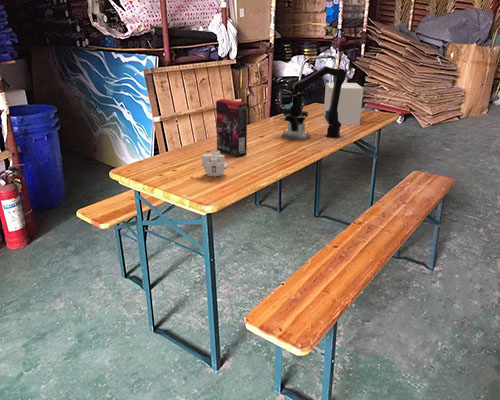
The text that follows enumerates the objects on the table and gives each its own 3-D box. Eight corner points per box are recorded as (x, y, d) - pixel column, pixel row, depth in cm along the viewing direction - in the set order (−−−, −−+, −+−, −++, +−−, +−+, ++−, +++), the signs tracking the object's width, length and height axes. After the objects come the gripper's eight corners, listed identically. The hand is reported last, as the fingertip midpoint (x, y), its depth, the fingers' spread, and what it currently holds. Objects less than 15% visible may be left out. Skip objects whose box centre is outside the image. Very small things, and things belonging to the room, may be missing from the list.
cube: (323, 117, 319) (325, 82, 310) (353, 117, 318) (356, 83, 309) (327, 125, 296) (330, 88, 287) (359, 125, 295) (363, 88, 286)
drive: (304, 134, 262) (305, 123, 260) (301, 136, 259) (301, 124, 256) (290, 132, 267) (291, 121, 264) (287, 134, 263) (287, 122, 261)
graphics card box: (215, 151, 236) (214, 100, 225) (225, 148, 240) (224, 98, 230) (238, 157, 225) (238, 104, 214) (247, 155, 230) (248, 102, 219)
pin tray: (310, 137, 263) (310, 130, 262) (303, 140, 256) (304, 134, 255) (288, 134, 271) (288, 127, 269) (281, 137, 264) (281, 130, 262)
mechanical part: (228, 171, 205) (228, 147, 200) (226, 180, 193) (226, 155, 189) (204, 171, 205) (203, 146, 200) (201, 180, 194) (200, 154, 189)
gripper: (292, 100, 267) (291, 125, 273) (277, 105, 252) (276, 132, 258) (308, 102, 262) (307, 128, 268) (295, 107, 247) (293, 134, 253)
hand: (296, 130), depth 262 cm, fingers open, 6 cm apart
